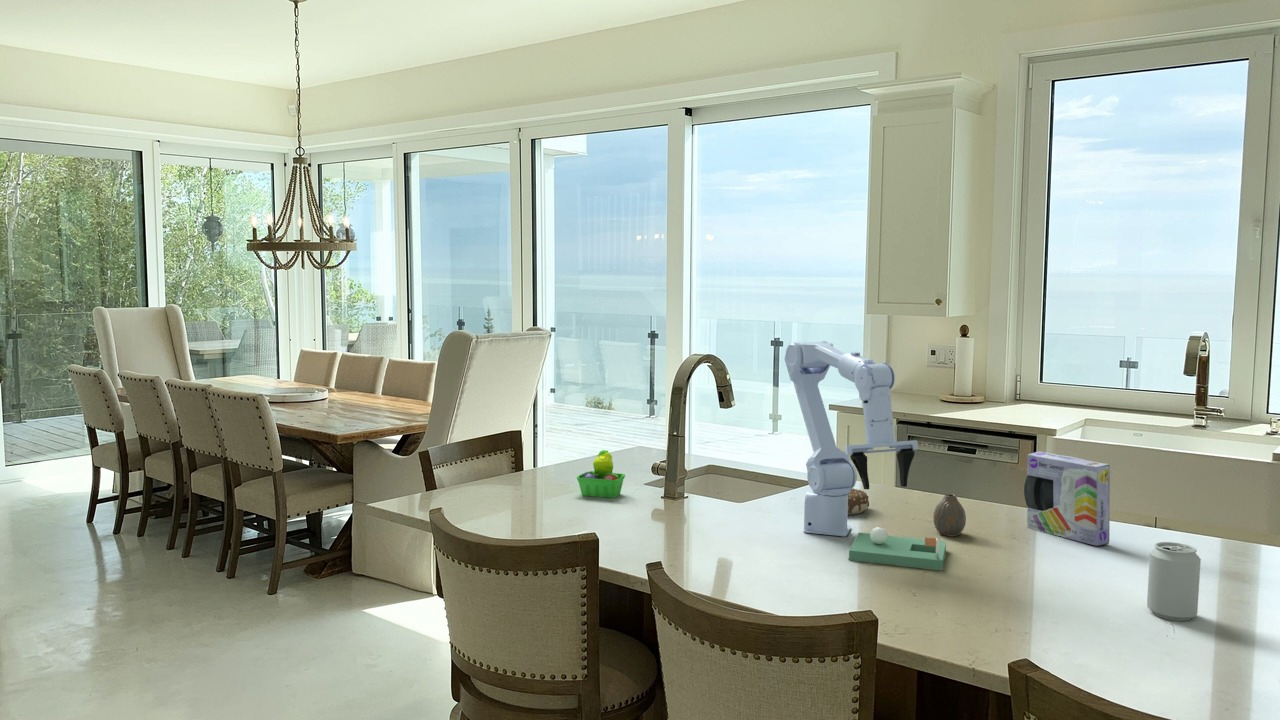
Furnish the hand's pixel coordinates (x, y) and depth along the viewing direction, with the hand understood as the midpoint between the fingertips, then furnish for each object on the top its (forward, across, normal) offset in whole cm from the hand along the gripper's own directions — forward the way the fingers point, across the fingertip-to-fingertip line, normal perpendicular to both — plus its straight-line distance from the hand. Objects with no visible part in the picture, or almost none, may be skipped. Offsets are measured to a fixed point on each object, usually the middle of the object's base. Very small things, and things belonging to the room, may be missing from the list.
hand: (885, 487), depth 190 cm
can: (+24, +39, -29) cm, 54 cm away
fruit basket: (0, -61, +54) cm, 81 cm away
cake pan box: (+15, +43, +18) cm, 49 cm away
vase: (+12, +18, +19) cm, 29 cm away
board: (+14, +2, +3) cm, 15 cm away
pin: (+16, +6, -5) cm, 18 cm away
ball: (+12, -2, +4) cm, 12 cm away
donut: (+7, -2, +40) cm, 40 cm away
